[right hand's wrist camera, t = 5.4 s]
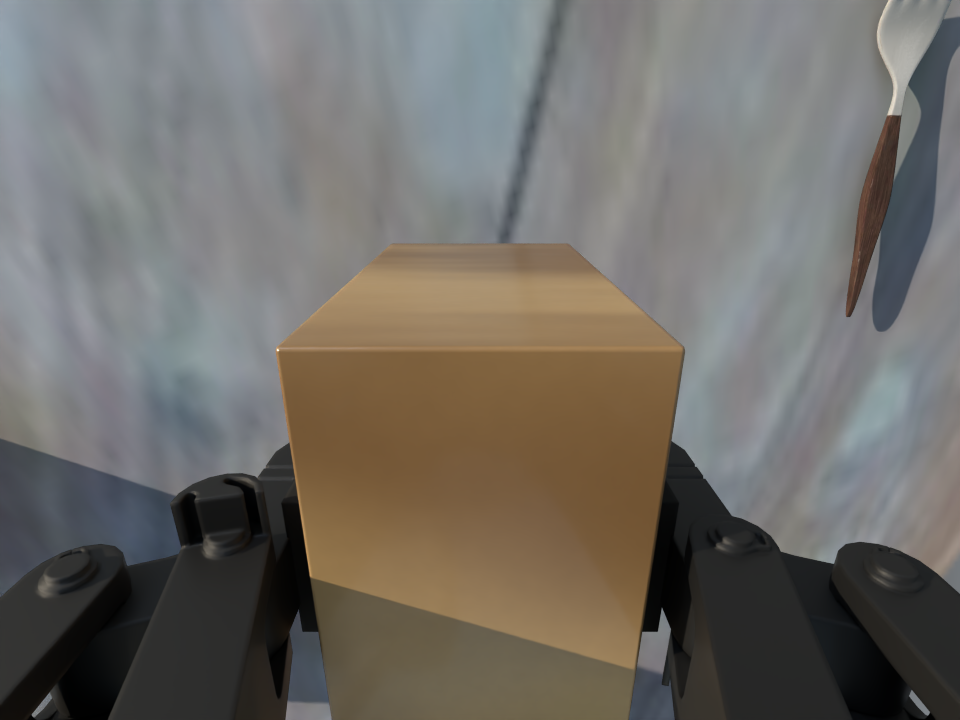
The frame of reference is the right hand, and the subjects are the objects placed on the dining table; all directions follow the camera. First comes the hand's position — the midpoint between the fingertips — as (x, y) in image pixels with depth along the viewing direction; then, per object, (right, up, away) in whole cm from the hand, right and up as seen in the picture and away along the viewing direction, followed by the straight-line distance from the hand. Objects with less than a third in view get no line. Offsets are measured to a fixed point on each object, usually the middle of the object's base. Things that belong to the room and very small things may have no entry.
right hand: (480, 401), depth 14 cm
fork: (+18, +11, +9) cm, 23 cm away
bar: (0, -8, +4) cm, 9 cm away
